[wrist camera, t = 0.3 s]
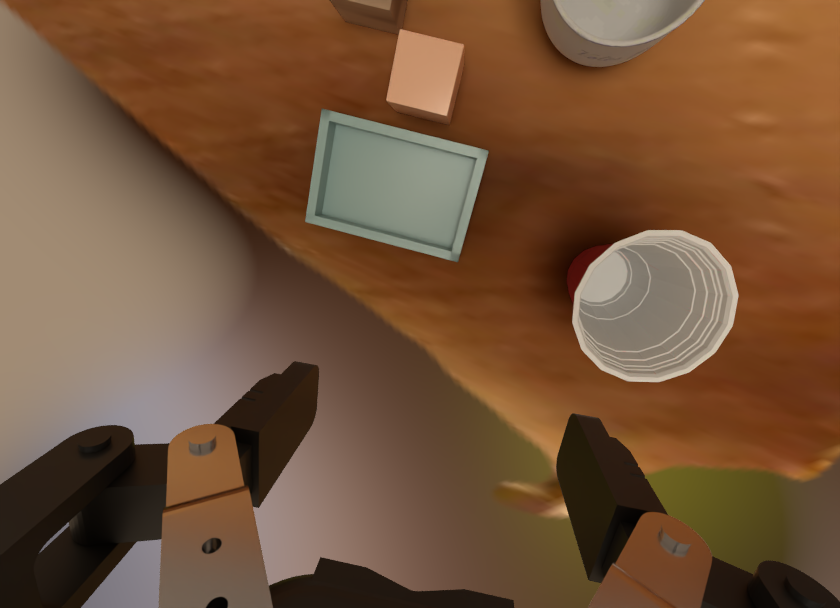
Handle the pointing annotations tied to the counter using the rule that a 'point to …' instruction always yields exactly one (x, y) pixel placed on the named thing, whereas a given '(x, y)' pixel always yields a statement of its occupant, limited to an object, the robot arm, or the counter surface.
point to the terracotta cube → (425, 76)
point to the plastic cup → (651, 304)
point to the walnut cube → (373, 13)
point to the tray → (393, 185)
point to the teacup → (611, 27)
